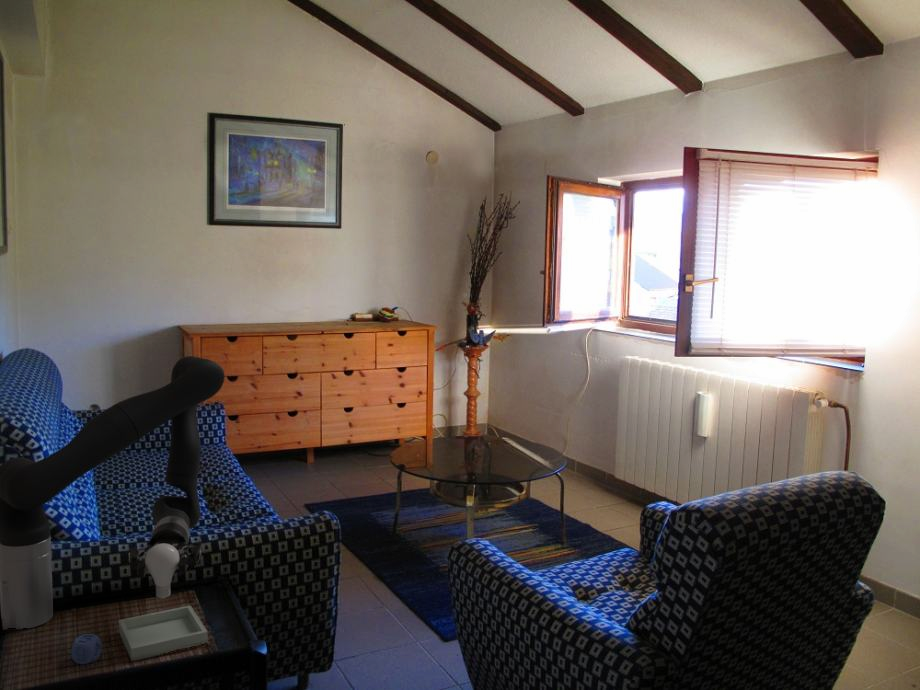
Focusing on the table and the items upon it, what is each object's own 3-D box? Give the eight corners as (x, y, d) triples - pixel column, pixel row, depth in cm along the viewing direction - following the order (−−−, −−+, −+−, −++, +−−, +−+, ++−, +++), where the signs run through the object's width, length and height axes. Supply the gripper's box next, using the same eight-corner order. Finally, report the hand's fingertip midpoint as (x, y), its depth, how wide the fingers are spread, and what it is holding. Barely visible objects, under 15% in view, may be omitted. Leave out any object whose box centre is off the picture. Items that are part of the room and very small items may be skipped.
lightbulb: (169, 607, 158) (167, 552, 156) (139, 603, 159) (137, 549, 158) (186, 592, 164) (185, 540, 163) (157, 589, 165) (156, 536, 164)
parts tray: (131, 661, 153) (131, 648, 153) (118, 631, 164) (118, 620, 164) (207, 643, 161) (207, 631, 161) (190, 616, 172) (190, 605, 171)
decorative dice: (101, 653, 156) (101, 633, 155) (93, 664, 152) (93, 644, 152) (80, 653, 156) (79, 633, 155) (71, 664, 152) (70, 644, 151)
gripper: (132, 523, 172) (120, 555, 156) (204, 519, 176) (200, 550, 160) (134, 558, 173) (121, 593, 157) (205, 553, 177) (200, 587, 161)
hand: (161, 571), depth 159 cm, fingers closed on lightbulb, 6 cm apart
